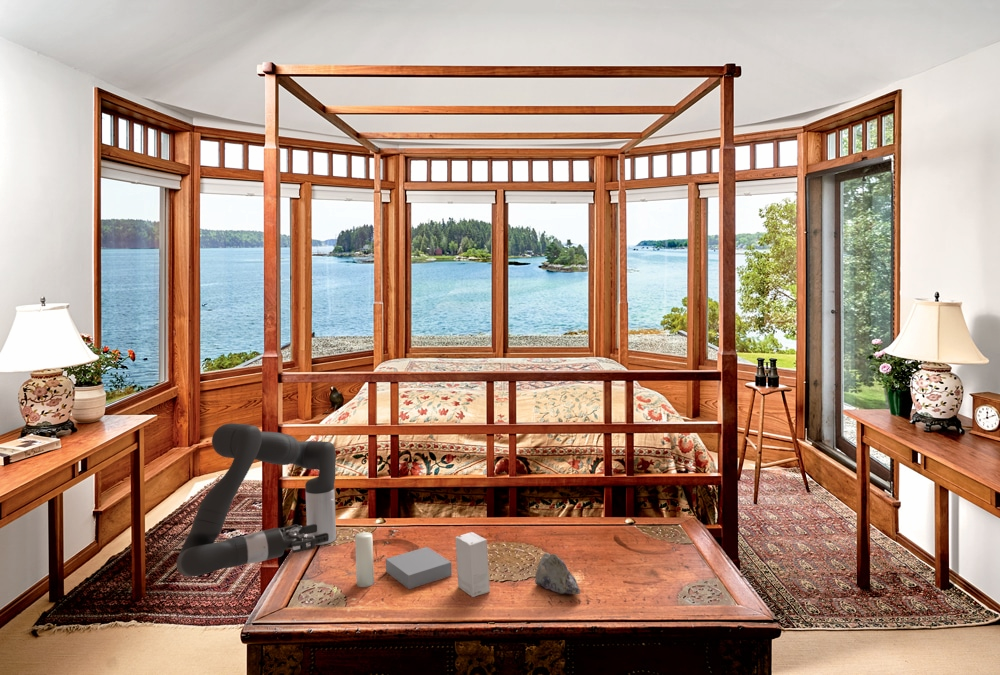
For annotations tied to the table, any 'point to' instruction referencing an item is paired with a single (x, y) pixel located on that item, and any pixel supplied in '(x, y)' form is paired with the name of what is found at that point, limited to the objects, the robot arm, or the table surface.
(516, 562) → the table surface
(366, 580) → the white cylinder
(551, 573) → the mineral rock
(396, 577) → the slate plinth
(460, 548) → the skincare box
